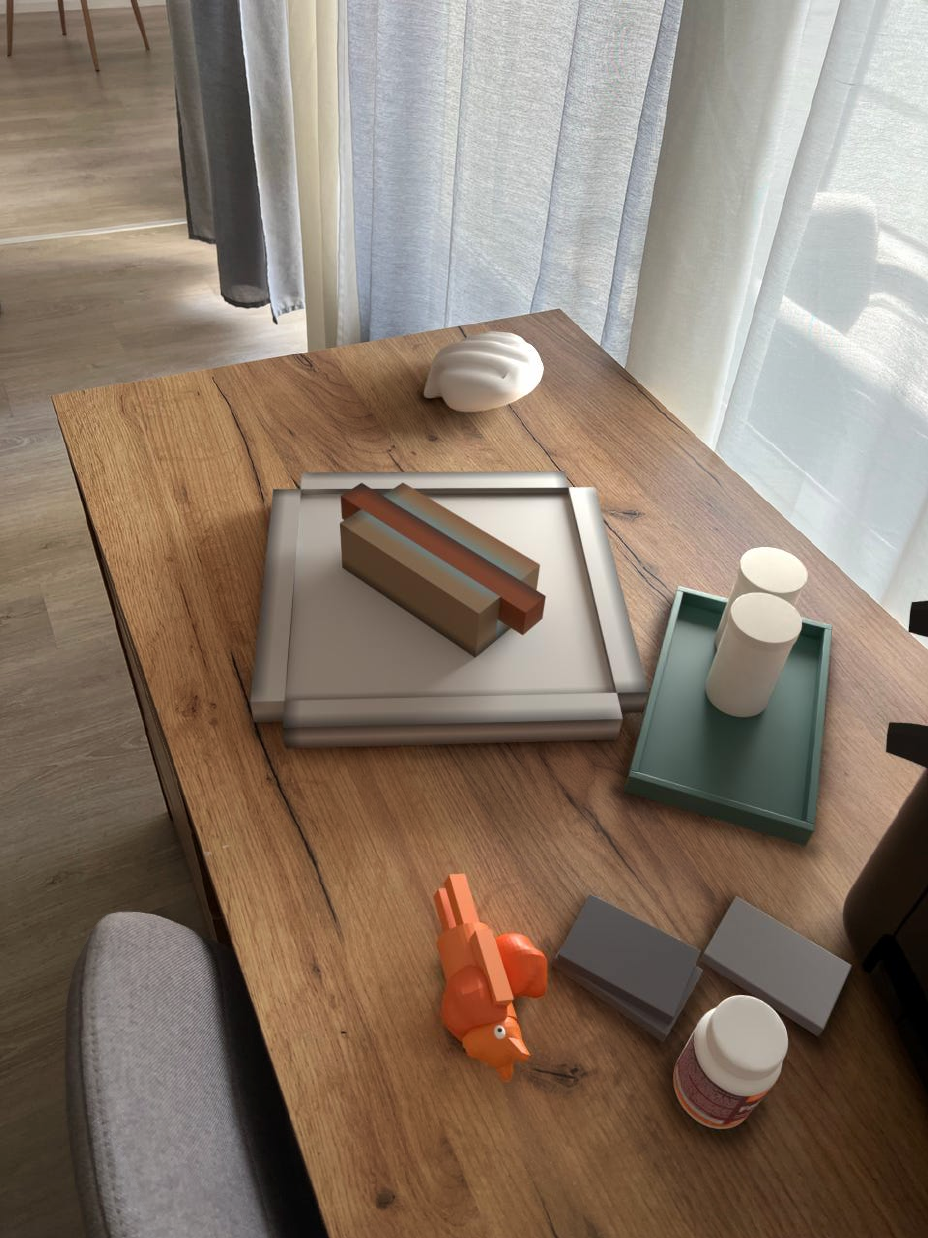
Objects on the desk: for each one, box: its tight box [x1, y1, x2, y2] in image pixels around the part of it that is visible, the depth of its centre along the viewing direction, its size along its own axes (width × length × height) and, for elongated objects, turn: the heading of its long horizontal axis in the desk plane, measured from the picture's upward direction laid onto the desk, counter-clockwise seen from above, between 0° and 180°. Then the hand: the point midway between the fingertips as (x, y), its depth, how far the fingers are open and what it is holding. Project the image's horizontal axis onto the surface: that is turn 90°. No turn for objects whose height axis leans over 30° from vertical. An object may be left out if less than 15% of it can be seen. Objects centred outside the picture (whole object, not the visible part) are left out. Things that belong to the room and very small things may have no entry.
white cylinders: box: [705, 547, 809, 717], centre depth 75 cm, size 11×5×9 cm, turn 161°
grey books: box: [551, 893, 852, 1043], centre depth 60 cm, size 16×11×2 cm
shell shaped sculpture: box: [423, 330, 544, 413], centre depth 103 cm, size 13×13×6 cm
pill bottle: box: [672, 994, 789, 1130], centre depth 53 cm, size 5×5×8 cm
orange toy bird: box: [432, 873, 548, 1082], centre depth 58 cm, size 5×8×12 cm
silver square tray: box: [249, 470, 650, 749], centre depth 80 cm, size 30×30×8 cm
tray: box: [623, 585, 833, 847], centre depth 75 cm, size 21×13×2 cm, turn 161°
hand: (898, 674), depth 50 cm, fingers open, 7 cm apart
